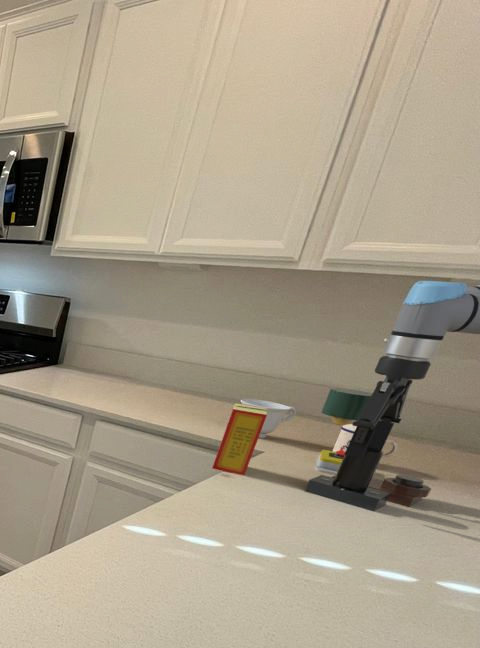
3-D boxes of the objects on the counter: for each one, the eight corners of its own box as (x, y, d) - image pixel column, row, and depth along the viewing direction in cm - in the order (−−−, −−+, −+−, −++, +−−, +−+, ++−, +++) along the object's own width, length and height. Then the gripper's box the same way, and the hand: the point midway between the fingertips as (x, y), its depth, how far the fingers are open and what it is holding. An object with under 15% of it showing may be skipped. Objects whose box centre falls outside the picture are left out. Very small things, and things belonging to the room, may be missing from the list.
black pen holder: (369, 488, 132) (387, 449, 128) (361, 492, 129) (379, 453, 126) (337, 479, 136) (353, 442, 133) (329, 483, 133) (345, 445, 130)
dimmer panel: (386, 504, 131) (392, 491, 130) (372, 512, 126) (378, 499, 125) (318, 485, 141) (323, 473, 140) (302, 492, 136) (308, 479, 135)
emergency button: (369, 453, 154) (371, 465, 144) (363, 468, 156) (363, 481, 145) (323, 443, 160) (321, 455, 150) (316, 458, 162) (314, 470, 151)
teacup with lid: (331, 460, 161) (348, 420, 157) (326, 452, 168) (343, 413, 164) (391, 471, 154) (411, 430, 150) (384, 463, 161) (403, 423, 157)
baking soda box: (244, 475, 144) (267, 413, 139) (212, 468, 148) (233, 407, 143) (245, 466, 151) (267, 407, 146) (215, 459, 155) (235, 401, 150)
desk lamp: (374, 471, 141) (407, 399, 134) (363, 476, 137) (397, 402, 130) (309, 455, 151) (337, 386, 144) (297, 459, 147) (325, 389, 140)
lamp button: (423, 487, 133) (426, 480, 132) (417, 490, 131) (421, 483, 130) (396, 480, 137) (399, 473, 136) (390, 483, 134) (394, 476, 134)
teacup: (298, 443, 175) (311, 411, 172) (244, 438, 177) (256, 406, 173) (272, 432, 186) (283, 401, 183) (221, 427, 188) (232, 397, 185)
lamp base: (428, 501, 135) (436, 485, 133) (416, 509, 130) (424, 493, 128) (342, 478, 147) (348, 464, 145) (328, 485, 142) (334, 469, 140)
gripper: (399, 352, 132) (359, 441, 139) (363, 356, 119) (321, 454, 126) (447, 358, 126) (402, 451, 133) (414, 364, 113) (368, 465, 120)
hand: (363, 452), depth 130 cm, fingers open, 13 cm apart
